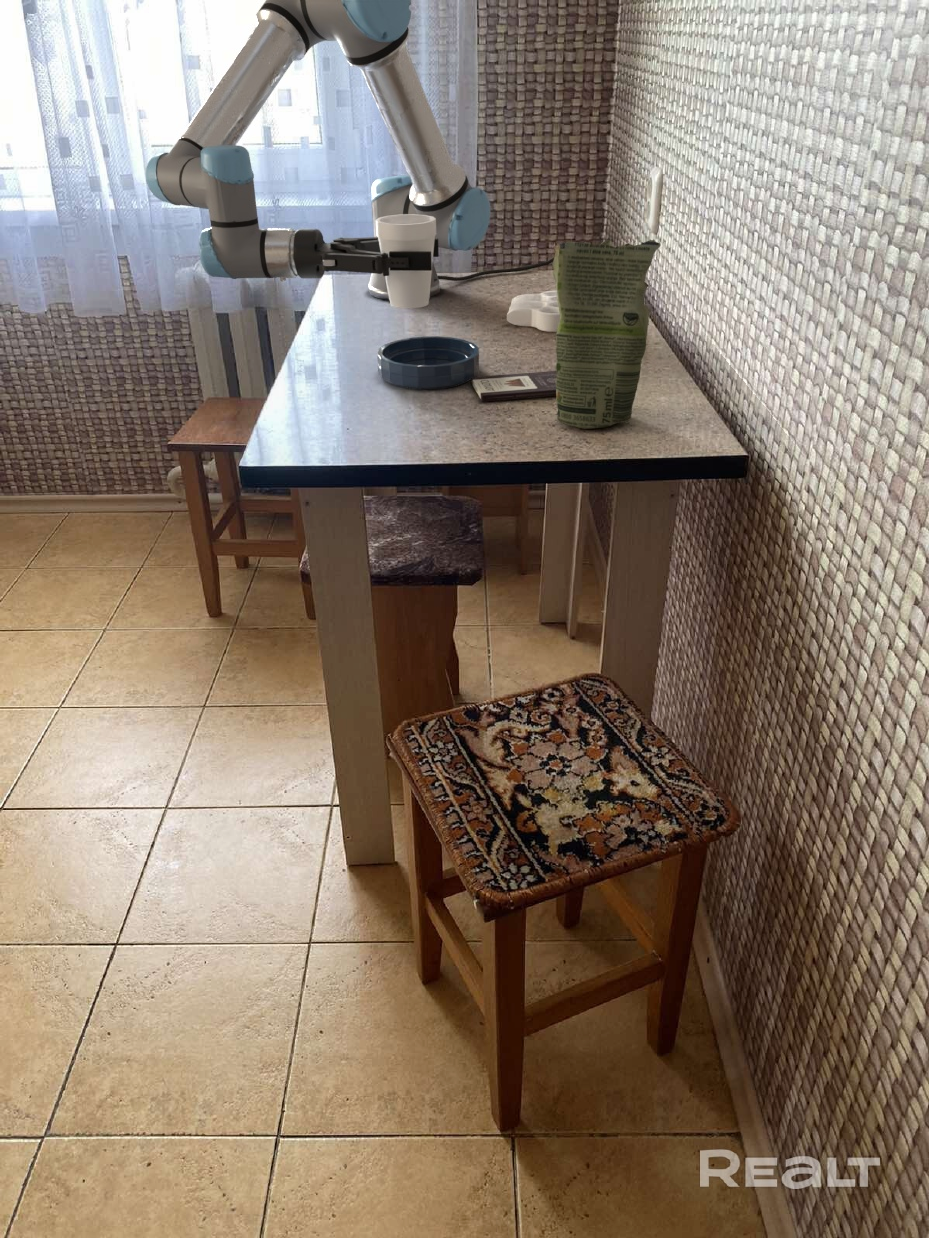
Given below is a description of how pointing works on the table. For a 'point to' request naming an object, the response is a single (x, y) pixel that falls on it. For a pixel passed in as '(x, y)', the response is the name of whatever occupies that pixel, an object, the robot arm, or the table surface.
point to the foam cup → (407, 236)
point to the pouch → (600, 330)
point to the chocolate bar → (515, 386)
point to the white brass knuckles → (535, 311)
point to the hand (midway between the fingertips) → (434, 254)
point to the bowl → (428, 362)
